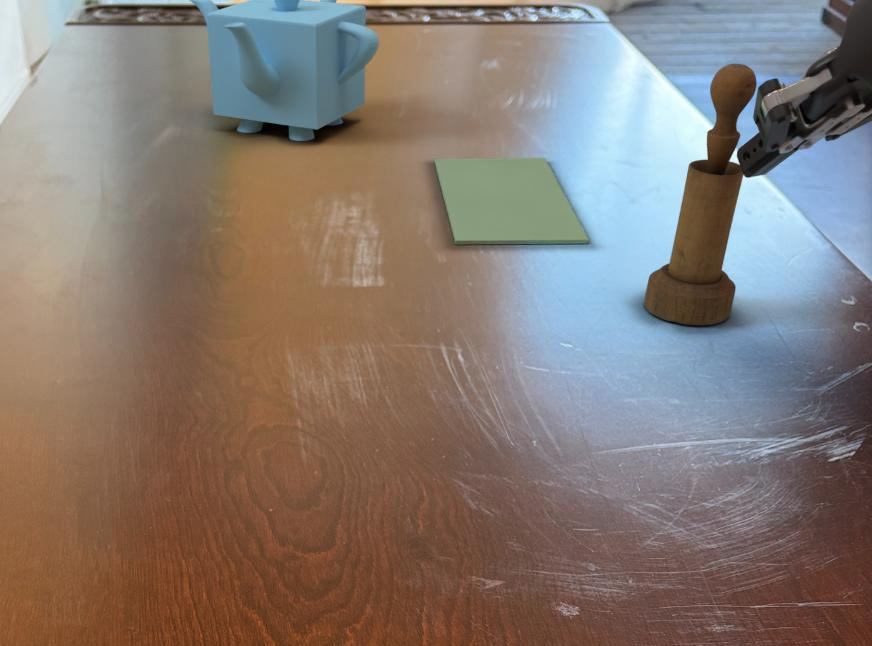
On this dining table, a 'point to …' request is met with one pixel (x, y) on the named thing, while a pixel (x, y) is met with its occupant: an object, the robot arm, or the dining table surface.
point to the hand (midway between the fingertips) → (747, 164)
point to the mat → (506, 202)
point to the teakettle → (288, 62)
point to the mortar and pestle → (706, 217)
